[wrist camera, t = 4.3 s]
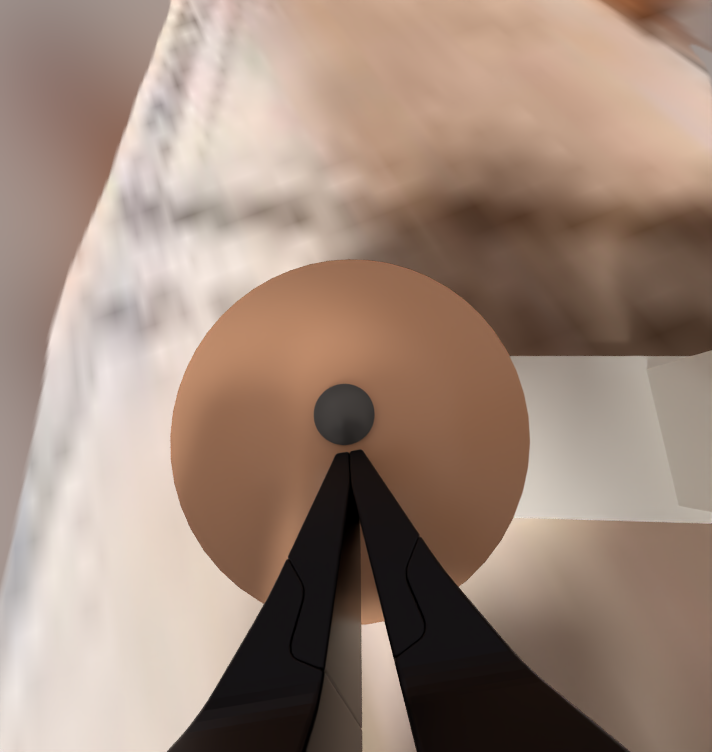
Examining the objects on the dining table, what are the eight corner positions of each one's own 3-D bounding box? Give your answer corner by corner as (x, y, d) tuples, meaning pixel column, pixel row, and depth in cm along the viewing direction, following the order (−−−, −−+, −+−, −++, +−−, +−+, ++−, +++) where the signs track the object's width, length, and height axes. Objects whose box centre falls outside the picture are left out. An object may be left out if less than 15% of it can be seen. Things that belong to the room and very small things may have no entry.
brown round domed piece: (460, 323, 17) (511, 251, 11) (478, 557, 14) (564, 643, 8) (256, 324, 17) (194, 257, 11) (232, 547, 14) (130, 620, 8)
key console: (797, 363, 18) (955, 332, 13) (856, 522, 16) (1072, 554, 11) (260, 362, 20) (225, 334, 15) (246, 504, 18) (199, 525, 13)
